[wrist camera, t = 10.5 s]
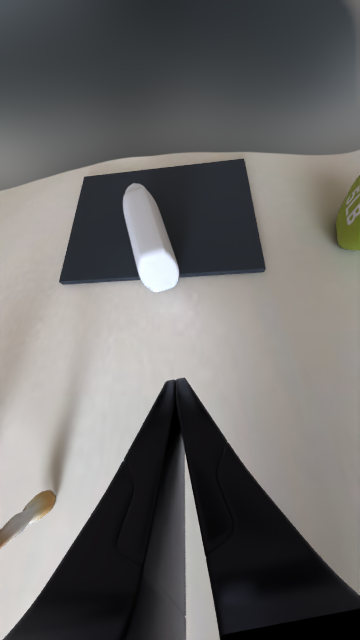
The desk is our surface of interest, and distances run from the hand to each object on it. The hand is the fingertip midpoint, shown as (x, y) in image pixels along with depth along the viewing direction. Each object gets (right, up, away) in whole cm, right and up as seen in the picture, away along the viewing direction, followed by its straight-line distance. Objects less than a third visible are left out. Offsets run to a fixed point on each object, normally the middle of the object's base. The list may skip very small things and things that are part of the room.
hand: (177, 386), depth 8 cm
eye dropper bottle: (-1, +6, +8) cm, 10 cm away
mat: (-2, +15, +14) cm, 21 cm away
